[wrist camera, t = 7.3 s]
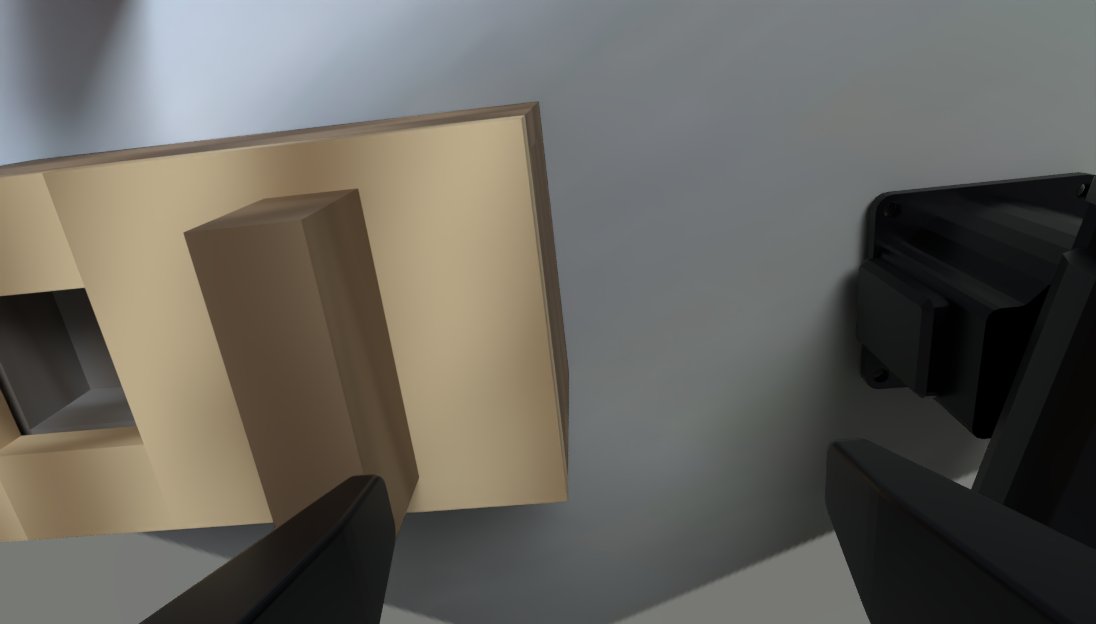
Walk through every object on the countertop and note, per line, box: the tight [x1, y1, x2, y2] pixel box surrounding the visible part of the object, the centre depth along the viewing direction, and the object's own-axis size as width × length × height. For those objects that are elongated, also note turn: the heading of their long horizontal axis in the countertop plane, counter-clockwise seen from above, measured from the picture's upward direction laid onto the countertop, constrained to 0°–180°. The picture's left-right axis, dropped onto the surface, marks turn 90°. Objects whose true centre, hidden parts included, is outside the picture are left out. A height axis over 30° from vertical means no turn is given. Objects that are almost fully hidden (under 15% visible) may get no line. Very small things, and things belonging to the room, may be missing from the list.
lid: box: [0, 115, 568, 542], centre depth 14 cm, size 16×9×4 cm, turn 96°
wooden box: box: [0, 101, 569, 474], centre depth 19 cm, size 16×9×6 cm, turn 96°
